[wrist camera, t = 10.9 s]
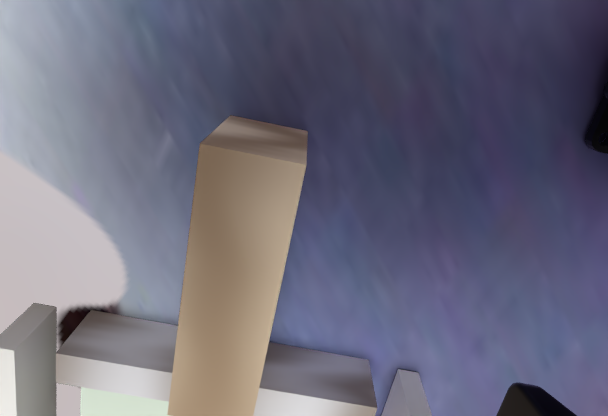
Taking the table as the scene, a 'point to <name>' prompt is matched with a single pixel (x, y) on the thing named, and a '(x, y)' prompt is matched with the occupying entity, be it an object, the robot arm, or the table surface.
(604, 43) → the table surface
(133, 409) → the tile sage
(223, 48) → the table surface
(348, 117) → the table surface
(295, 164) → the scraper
